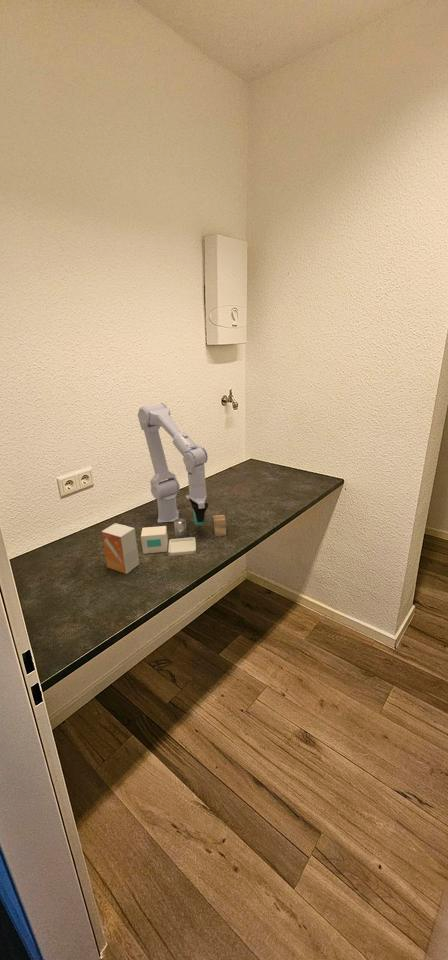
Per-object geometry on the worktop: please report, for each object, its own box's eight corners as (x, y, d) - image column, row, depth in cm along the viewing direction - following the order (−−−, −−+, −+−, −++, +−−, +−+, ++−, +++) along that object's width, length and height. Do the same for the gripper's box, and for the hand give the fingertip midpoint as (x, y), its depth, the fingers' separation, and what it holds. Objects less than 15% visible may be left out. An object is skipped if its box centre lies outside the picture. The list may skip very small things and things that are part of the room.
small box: (106, 568, 124) (100, 531, 119) (121, 558, 129) (115, 522, 124) (126, 574, 120) (120, 536, 115) (140, 564, 125) (135, 527, 120)
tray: (169, 542, 137) (169, 539, 136) (195, 540, 138) (195, 537, 137) (168, 556, 128) (168, 553, 128) (196, 553, 129) (196, 550, 129)
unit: (144, 544, 137) (142, 527, 134) (168, 542, 137) (166, 525, 135) (142, 554, 130) (140, 536, 128) (167, 552, 131) (165, 534, 129)
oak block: (214, 530, 144) (213, 515, 142) (225, 529, 144) (224, 514, 142) (215, 535, 140) (214, 520, 138) (226, 534, 140) (225, 519, 138)
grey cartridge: (175, 533, 143) (174, 518, 140) (186, 532, 143) (185, 517, 141) (175, 539, 139) (173, 523, 137) (186, 538, 139) (185, 523, 137)
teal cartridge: (193, 520, 142) (192, 505, 139) (205, 519, 142) (204, 504, 140) (194, 525, 138) (193, 510, 136) (205, 524, 138) (204, 509, 136)
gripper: (182, 477, 140) (185, 511, 145) (188, 492, 127) (191, 529, 132) (201, 474, 142) (204, 509, 147) (210, 489, 128) (212, 526, 133)
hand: (199, 518), depth 139 cm, fingers closed on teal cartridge, 4 cm apart
